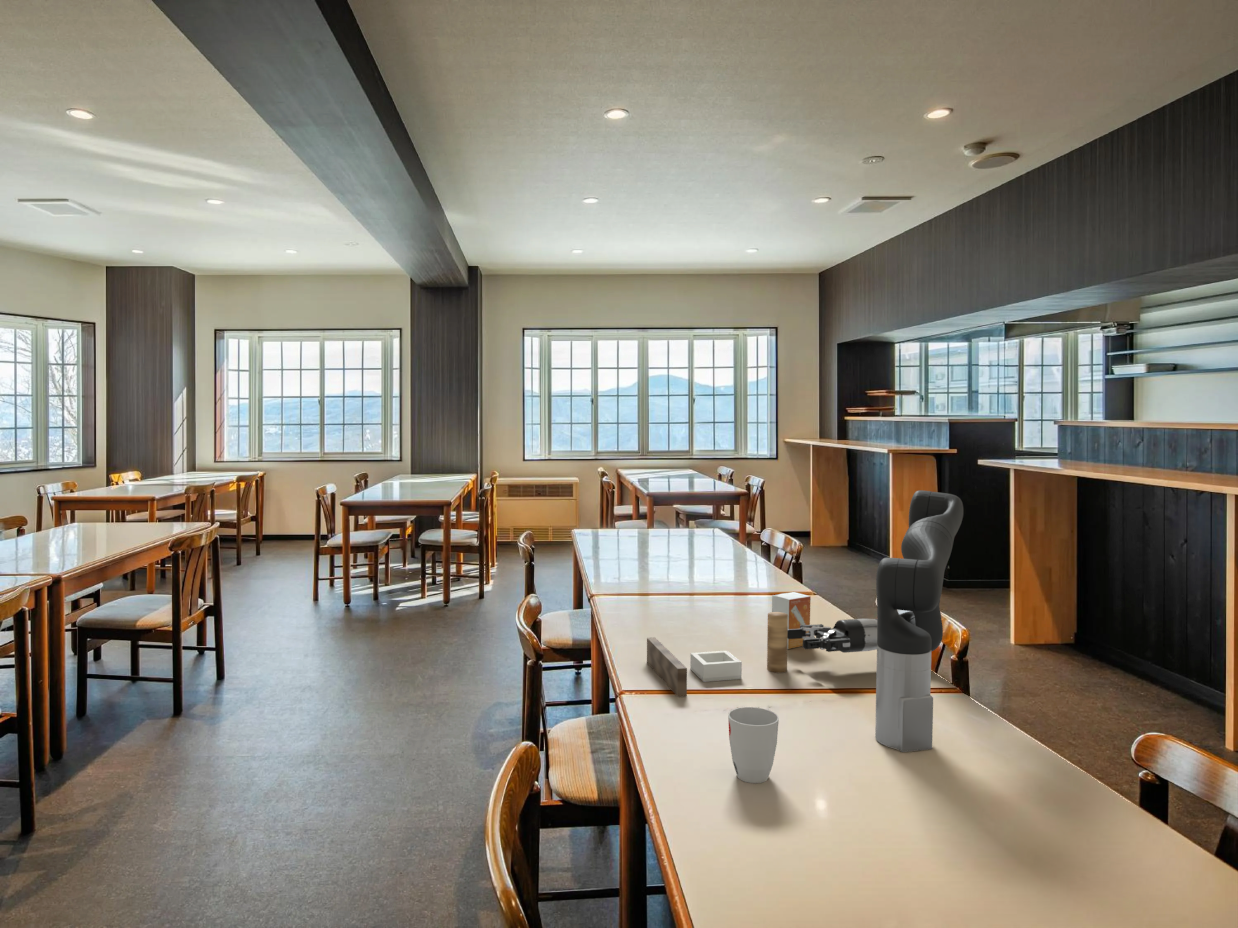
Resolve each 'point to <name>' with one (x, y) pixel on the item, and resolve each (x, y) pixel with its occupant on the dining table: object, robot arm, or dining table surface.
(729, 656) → the white square tray
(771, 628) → the oak dowel
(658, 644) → the board
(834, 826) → the dining table surface
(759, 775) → the cup
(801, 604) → the small box
